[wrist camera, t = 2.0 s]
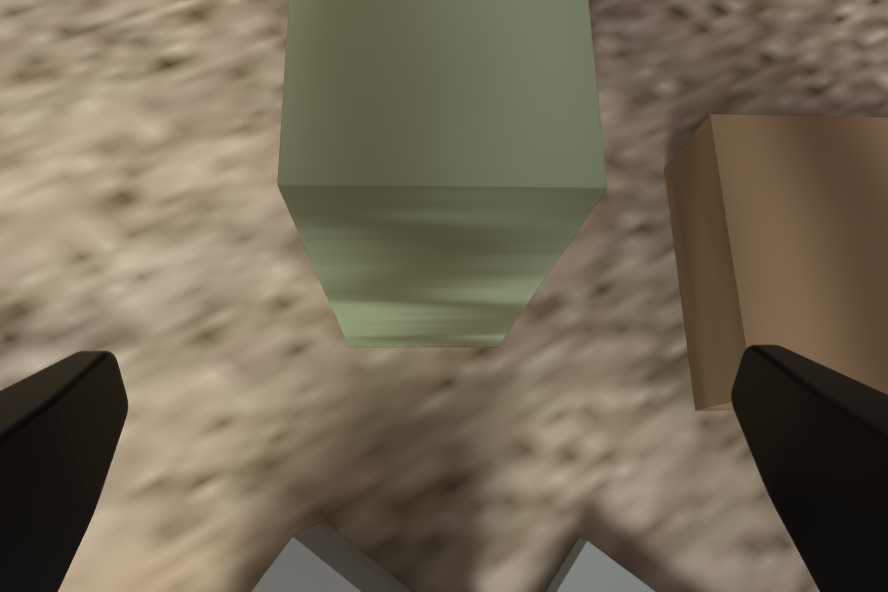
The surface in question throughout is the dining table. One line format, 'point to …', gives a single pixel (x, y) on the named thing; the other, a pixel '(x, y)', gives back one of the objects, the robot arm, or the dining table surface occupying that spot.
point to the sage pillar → (438, 158)
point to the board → (593, 573)
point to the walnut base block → (782, 244)
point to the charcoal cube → (325, 566)
